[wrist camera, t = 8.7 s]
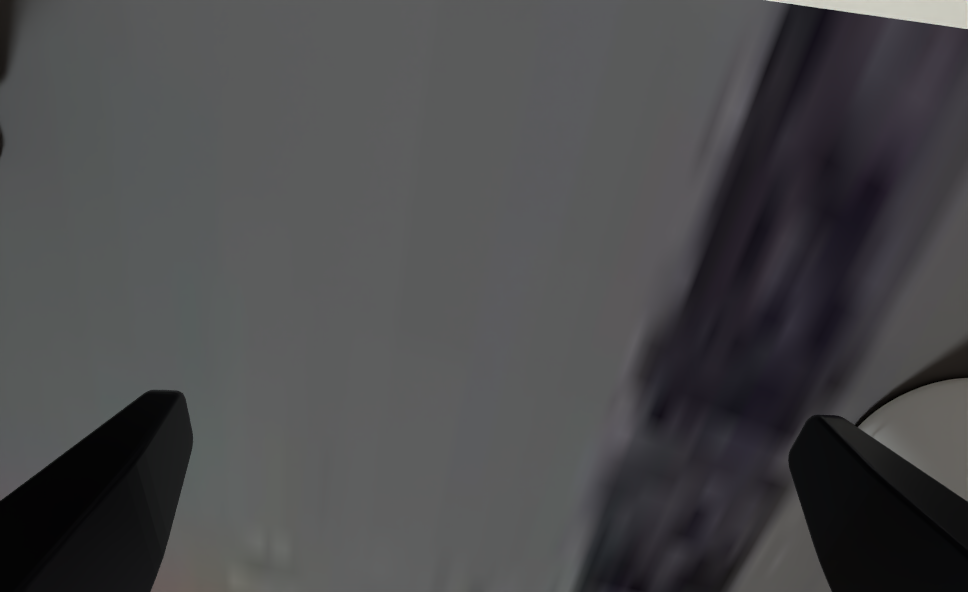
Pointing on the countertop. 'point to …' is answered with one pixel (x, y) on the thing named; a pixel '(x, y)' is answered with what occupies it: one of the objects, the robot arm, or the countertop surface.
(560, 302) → the countertop surface
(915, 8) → the coaster
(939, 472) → the pill bottle
